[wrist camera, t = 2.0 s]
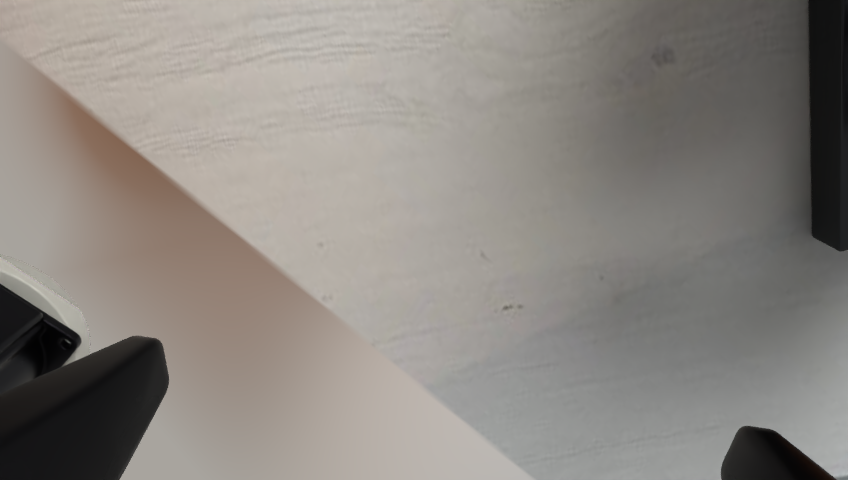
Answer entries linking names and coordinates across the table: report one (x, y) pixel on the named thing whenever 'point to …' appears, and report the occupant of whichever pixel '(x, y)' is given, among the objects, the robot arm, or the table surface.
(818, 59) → the lever bracket
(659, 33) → the table surface
